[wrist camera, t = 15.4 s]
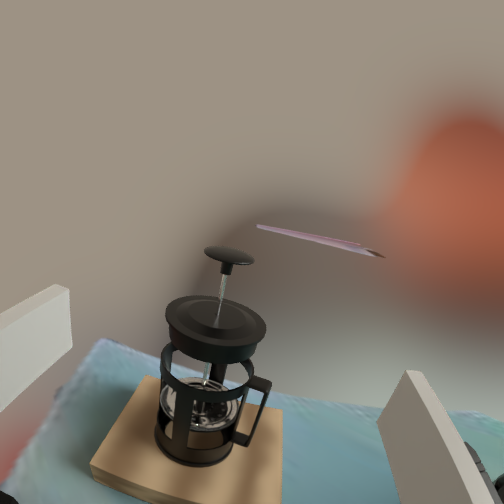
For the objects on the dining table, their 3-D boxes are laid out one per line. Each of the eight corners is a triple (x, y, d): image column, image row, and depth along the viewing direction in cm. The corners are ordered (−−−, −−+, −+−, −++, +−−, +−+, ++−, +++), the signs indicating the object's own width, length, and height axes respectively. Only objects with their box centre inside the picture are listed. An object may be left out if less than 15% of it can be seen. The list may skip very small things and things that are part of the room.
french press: (133, 440, 27) (142, 240, 21) (172, 398, 36) (198, 228, 30) (231, 486, 24) (298, 290, 19) (256, 432, 33) (312, 260, 27)
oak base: (274, 427, 39) (282, 409, 38) (270, 528, 22) (280, 516, 21) (145, 393, 40) (145, 374, 39) (94, 480, 22) (89, 463, 21)
